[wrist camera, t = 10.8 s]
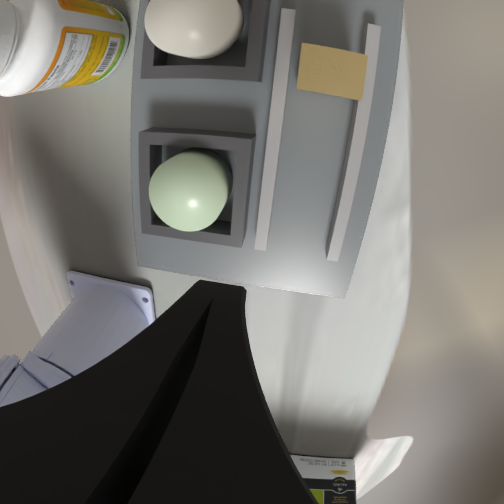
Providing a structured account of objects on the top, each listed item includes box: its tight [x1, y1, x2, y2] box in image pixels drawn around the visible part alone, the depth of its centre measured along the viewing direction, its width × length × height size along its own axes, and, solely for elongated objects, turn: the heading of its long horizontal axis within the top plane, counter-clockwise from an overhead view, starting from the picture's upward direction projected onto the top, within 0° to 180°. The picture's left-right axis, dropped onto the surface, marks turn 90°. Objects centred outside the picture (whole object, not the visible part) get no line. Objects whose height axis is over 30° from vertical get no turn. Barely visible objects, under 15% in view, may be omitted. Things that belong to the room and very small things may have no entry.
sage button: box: [149, 147, 233, 232], centre depth 15 cm, size 4×4×2 cm
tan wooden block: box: [296, 43, 368, 101], centre depth 11 cm, size 2×2×3 cm
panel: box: [131, 0, 404, 298], centre depth 14 cm, size 18×13×4 cm
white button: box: [144, 0, 244, 59], centre depth 10 cm, size 4×4×2 cm
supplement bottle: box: [0, 0, 129, 97], centre depth 10 cm, size 5×5×10 cm
